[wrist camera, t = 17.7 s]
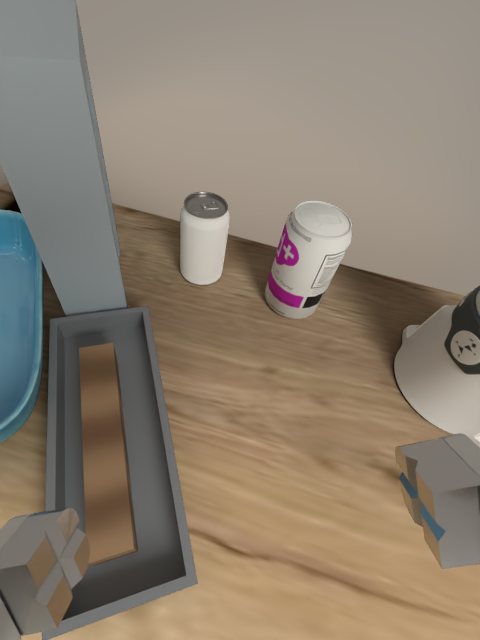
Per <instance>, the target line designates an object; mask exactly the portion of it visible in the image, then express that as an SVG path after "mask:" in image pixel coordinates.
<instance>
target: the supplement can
mask: <svg viewBox="0 0 480 640" xmlns="http://www.w3.org/2000/svg"><path fill="white" fill-rule="evenodd" d="M351 227H352V222H351V220H350V218H349V216H348V215H347V214H346V213H345V212H344V211H343V210H341V209H340V208H338V207H337V206H335V205H332V204H330V203H327V202H323V201H316V200H315V201H306V202H302V203H300V204H299V205H298V206H296V209H295V210H294V211H293V212H291V213H290V215H288V217H287V220H286V223H285V226H284V229H283V233H282V236H281V239H280V243H279V246H278V249H277V253H276V256H275V259H274V262H273V266H272V269H271V272H270V276H269V279H268V282H267V286H266V289H265V299H266V301H267V303H268V304H269V306H270V307H271V308H272V309H273V310H274V311H275V312H277V313H278V314H280V315H282V316H284V317H288V318H294V319H299V318H306V317H308V316H310V315H312V314H313V313H314V311H315V310H316V309H317V307H318V305H319V303H320V301H321V299H322V297H323V295H324V293H325V292H326V290H327V288H328V286H329V284H330V282H331V280H332V278H333V276H334V274H335V272H336V270H337V268H338V266H339V264H340V262H341V260H342V258H343V257H344V255H345V253H346V251H347V249H348V247H349V245H350V243H351V238H352V231H351Z"/></svg>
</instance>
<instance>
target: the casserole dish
mask: <svg viewBox="0 0 480 640" xmlns="http://www.w3.org/2000/svg"><path fill="white" fill-rule="evenodd" d="M42 361H43V266H42V259H41V257H40V254H39V252H38V250H37V247H36V245H35V243H34V240H33V238H32V236H31V234H30V231H29V229H28V227H27V224H26V222H25V220H24V217H23V215H22V214H21V213H18V212H14V211H8V210H0V443H1V442H3V441H5V440H6V439H8V438H9V437H11V436H12V435H13V434H14V433H16V432H17V431H18V430H19V429H20V428H21V427H22V426H23V425H24V423H25V422H26V421H27V419H28V418H29V416H30V414H31V413H32V411H33V408H34V406H35V403H36V401H37V397H38V393H39V388H40V383H41V375H42Z"/></svg>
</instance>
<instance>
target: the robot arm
mask: <svg viewBox="0 0 480 640" xmlns="http://www.w3.org/2000/svg"><path fill="white" fill-rule="evenodd" d="M402 339H403V343H402V346H401V348H400V349H399V351H398V352H397V354H396V357H395V362H394V371H395V376H396V380H397V383H398V385H399V387H400V389H401V391H402V393H403V395H404V396H405V398H406V399H407V401H408V402H409V403H410V404H411V406H412V407H413V408H414V409H415V410H416V411H417V412H418V413H419V414H420V415H421V416H423V417H424V418H425V419H426V420H428V421H429V422H430V423H432V424H433V425H435V426H437V427H439V428H440V429H442V430H445V431H447V432H449V433H452V434H454V435H449V436H444V437H440V438H438V439H434V440H429V441H423V442H418V443H413V444H408V445H403V446H397V447H395V456H396V462H397V464H398V465H399V467H400V468H401V470H402V473H401V475H400V477H399V482H400V488H401V492H402V495H403V498H404V501H405V504H406V506H407V509H408V511H409V513H410V515H411V516H412V518H413V520H414V522H415V523H417V524H418V525H420V526H422V527H423V530H424V537H425V541H426V543H427V544H428V546H429V548H430V549H431V551H432V553H433V554H434V556H435V558H436V560H437V561H438V563H439V565H440V566H441V568H442V569H445V568H453V567H461V566H469V565H477V564H480V286H478V287H477V288H476V289H475V290H473V291H472V292H470V293H469V294H467V295H466V296H465V297H464V298H463V299H462V301H461V302H460V303H459V304H458V305H450V306H449V305H445V306H443V307H441V308H440V309H439V310H438V311H437V312H435V313H434V314H433V315H432V316H431V317H430V318H428V319H427V320H426V321H425V322H424V323H423V324H422V325H409V326H407V327H406V328H405V329H404V330H403V335H402ZM79 521H80V519H79V517H78V515H77V513H76V511H75V509H72V508H64V509H58V510H51V511H45V512H39V513H34V514H28V515H22V516H17V517H14V518H12V519H10V520H9V521H8V522H7V523H6V524H5V525H4V526H3V528H2V529H1V530H0V640H20V639H21V636H23V635H29V634H34V633H39V632H44V631H49V630H54V629H58V627H59V625H60V623H61V621H62V619H63V617H64V615H65V613H66V611H67V609H68V606H69V604H70V602H71V600H72V598H73V595H72V588H73V587H74V586H75V585H76V584H77V583H78V582H79V581H80V580H81V579H82V578H83V576H84V574H85V571H86V569H87V567H88V563H89V557H90V546H89V541H88V538H87V536H86V534H85V533H83V532H82V531H81V530H79V529H78V528H77V527H78V524H79Z"/></svg>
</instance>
